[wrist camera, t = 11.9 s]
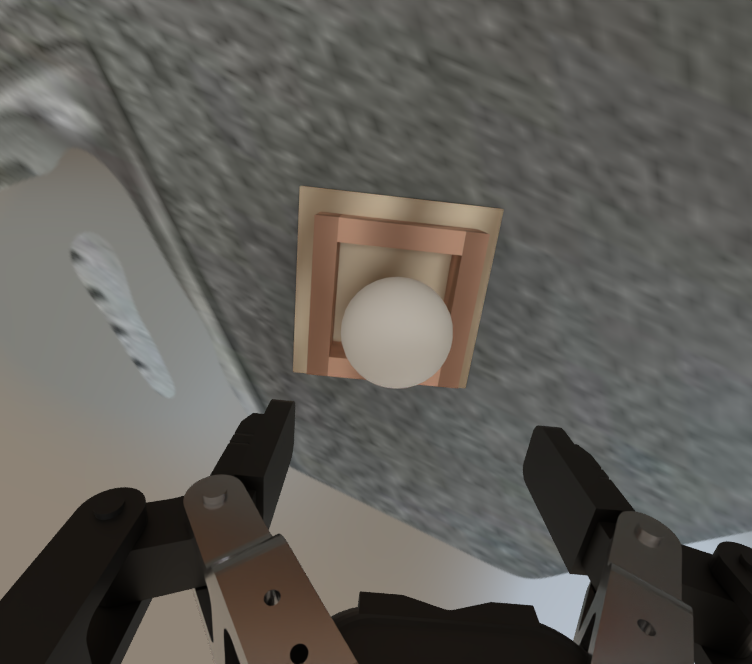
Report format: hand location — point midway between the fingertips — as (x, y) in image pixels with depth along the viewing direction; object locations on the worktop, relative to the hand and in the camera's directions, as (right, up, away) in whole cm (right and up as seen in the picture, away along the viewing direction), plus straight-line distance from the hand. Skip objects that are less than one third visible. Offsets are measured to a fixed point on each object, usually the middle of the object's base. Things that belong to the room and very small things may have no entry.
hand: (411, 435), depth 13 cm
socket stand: (0, +6, +17) cm, 18 cm away
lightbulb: (0, +6, +16) cm, 17 cm away
